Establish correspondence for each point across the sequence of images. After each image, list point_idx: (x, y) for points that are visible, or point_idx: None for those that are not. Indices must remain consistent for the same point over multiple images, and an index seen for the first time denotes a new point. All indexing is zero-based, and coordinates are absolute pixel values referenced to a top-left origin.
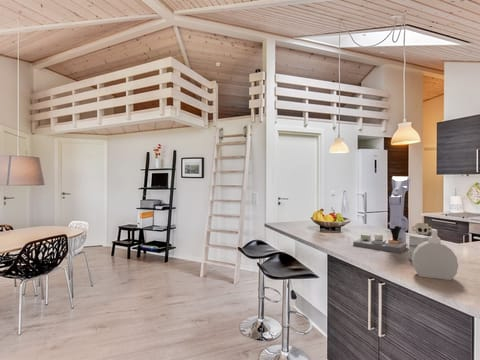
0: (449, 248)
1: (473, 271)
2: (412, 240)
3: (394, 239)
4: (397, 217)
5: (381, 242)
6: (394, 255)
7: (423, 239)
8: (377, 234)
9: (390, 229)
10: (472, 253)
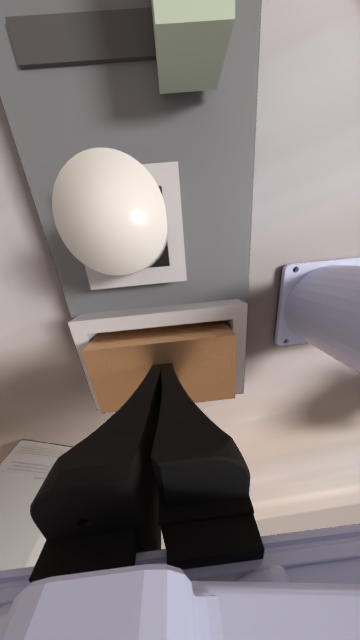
0: None
1: None
2: None
3: (144, 377)
4: None
5: (92, 280)
6: (27, 383)
7: None
8: (106, 199)
9: (76, 450)
10: (309, 507)
